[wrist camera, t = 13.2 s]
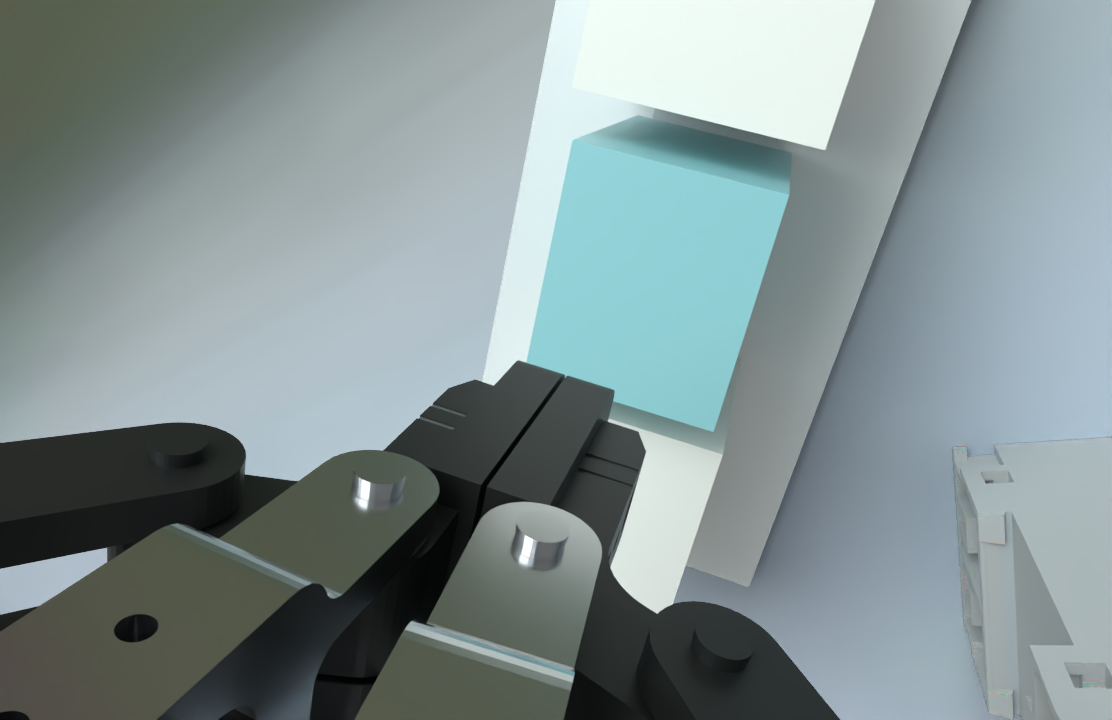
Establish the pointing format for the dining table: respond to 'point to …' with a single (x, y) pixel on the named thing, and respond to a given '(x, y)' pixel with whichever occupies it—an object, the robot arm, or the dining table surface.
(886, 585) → the dining table surface
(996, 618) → the circuit breaker
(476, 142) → the dining table surface
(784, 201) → the block
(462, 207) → the dining table surface
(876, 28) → the rail panel
